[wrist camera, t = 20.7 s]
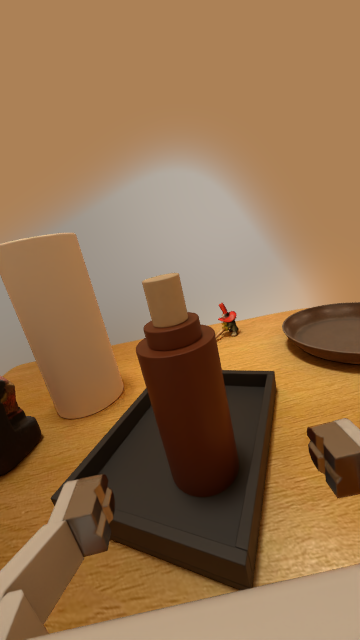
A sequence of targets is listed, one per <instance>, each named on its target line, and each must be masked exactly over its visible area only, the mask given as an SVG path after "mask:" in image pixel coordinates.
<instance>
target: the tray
mask: <svg viewBox="0 0 360 640" xmlns="http://www.w3.org/2000/svg"><path fill="white" fill-rule="evenodd" d="M222 374H223V379H224V384H225V390H226V395H227V400H228V406H229V411H230V416H231V422H232V427H233V432H234V438H235V443H236V448H237V454H238V459H239V471H238V474H237V476H236V478H235V480H234V482H233V483H232V484H231V485H230V486H229V487H228V488H227V489H226V490H224V491H223V492H221V493H219V494H216V495H213V496H209V497H195V496H191V495H188V494H186V493H184V492H183V491H182V490H180V489H179V488H178V487H177V485H176V484H175V482H174V480H173V477H172V474H171V470H170V467H169V463H168V460H167V457H166V453H165V450H164V446H163V443H162V439H161V436H160V432H159V429H158V425H157V422H156V419H155V415H154V412H153V408H152V405H151V401H150V398H149V394H148V391H147V388H146V389H145V390H144V391H143V393H142V394H141V395H140V396H139V397H138V398H137V399H136V401H135V402H134V403H133V404H132V405H131V406H130V408H129V409H128V410H127V411H126V412H125V413H124V414H123V416H122V417H121V418H120V419H119V420H118V421H117V422H116V424H115V425H114V426H113V427H112V428H111V429H110V430H109V432H108V433H107V434H106V435H105V436H104V437H103V438H102V440H101V441H100V442H99V443H98V444H97V445H96V446H95V448H94V449H93V450H92V451H91V452H90V453H89V454H88V456H87V457H86V458H85V459H84V460H83V461H82V463H81V464H80V465H79V466H78V467H77V468H76V469H75V471H74V472H73V473H72V474H71V475H70V476H69V477H68V479H67V480H66V481H65V482H64V483H63V484H62V485H61V487H60V488H59V489H58V490H57V491H56V492H55V494H54V495H53V496H52V497H51V500H52V502H53V504H54V506H55V505H56V502H57V500H58V497H59V495H60V493H61V490H62V488H63V486H64V484H65V483H66V482H67V481H73V480H78V479H81V478H86V477H91V476H96V475H101V474H106V476H107V478H108V486H107V487H109V488H110V489H112V491H113V494H114V498H115V512H114V518H113V519H112V521H111V522H110V523H109V526H110V529H111V535H110V539H112V540H114V541H117V542H119V543H122V544H125V545H127V546H130V547H132V548H135V549H137V550H140V551H142V552H145V553H148V554H150V555H153V556H155V557H158V558H160V559H163V560H165V561H168V562H170V563H173V564H176V565H178V566H181V567H183V568H186V569H188V570H191V571H193V572H196V573H198V574H201V575H204V576H206V577H209V578H211V579H214V580H216V581H219V582H221V583H224V584H227V585H229V586H232V587H234V588H237V589H239V590H245V589H250V588H252V586H253V577H254V569H255V561H256V552H257V544H258V536H259V527H260V519H261V511H262V503H263V494H264V486H265V478H266V469H267V461H268V453H269V445H270V436H271V428H272V420H273V411H274V403H275V395H276V382H275V373H274V371H236V370H222Z"/></svg>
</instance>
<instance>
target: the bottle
mask: <svg viewBox="0 0 360 640" xmlns="http://www.w3.org/2000/svg"><path fill="white" fill-rule="evenodd" d="M142 284H143V288H144V292H145V296H146V299H147V303H148V307H149V311H150V315H151V319H152V321H150V322H149V323H147V324H146V325H145V326H144V333H145V337H146V338H144V339H143V340H142V341H141V342H139V344H138V345H137V347H136V353H137V356H138V360H139V363H140V367H141V370H142V374H143V377H144V381H145V384H146V387H147V391H148V394H149V398H150V401H151V405H152V408H153V412H154V415H155V419H156V422H157V425H158V429H159V432H160V436H161V439H162V443H163V446H164V450H165V453H166V457H167V460H168V463H169V467H170V470H171V474H172V477H173V480H174V482H175V484H176V485H177V487H178V488H179V489H180V490H182V491H183V492H184V493H186V494H188V495H191V496H195V497H209V496H213V495H216V494H219V493H221V492H223V491H224V490H226V489H227V488H228V487H229V486H230V485H231V484H232V483H233V482H234V480H235V478H236V476H237V474H238V471H239V459H238V454H237V448H236V443H235V438H234V432H233V427H232V422H231V416H230V411H229V406H228V400H227V395H226V390H225V384H224V379H223V374H222V369H221V363H220V358H219V353H218V347H217V342H216V337H215V331H214V330H213V329H212V328H211V327H209V326H206V325H200V321H199V316H198V315H197V314H195V313H190V312H187V309H186V305H185V300H184V296H183V291H182V286H181V282H180V277H179V274H178V273H170V274H165V275H160V276H156V277H152V278H149V279H146V280H144V281H143V282H142Z"/></svg>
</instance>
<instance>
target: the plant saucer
mask: <svg viewBox="0 0 360 640" xmlns="http://www.w3.org/2000/svg"><path fill="white" fill-rule="evenodd" d="M282 328H283V331H284V333H285V334H286V335H287V337H288V338H289V339H290V340H291V341H292V342H293V343H294V344H295V345H297V346H298V347H300V348H301V349H303V350H304V351H306V352H308V353H310V354H312V355H315V356H317V357H320V358H323V359H327V360H331V361H336V362H342V363H352V364H360V302H358V303H337V304H329V305H322V306H318V307H312V308H308V309H305V310H302V311H299V312H297V313H295V314H293V315H291V316H289V317H288V318H287V319H286V320H285V321H284V322H283V325H282Z"/></svg>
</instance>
